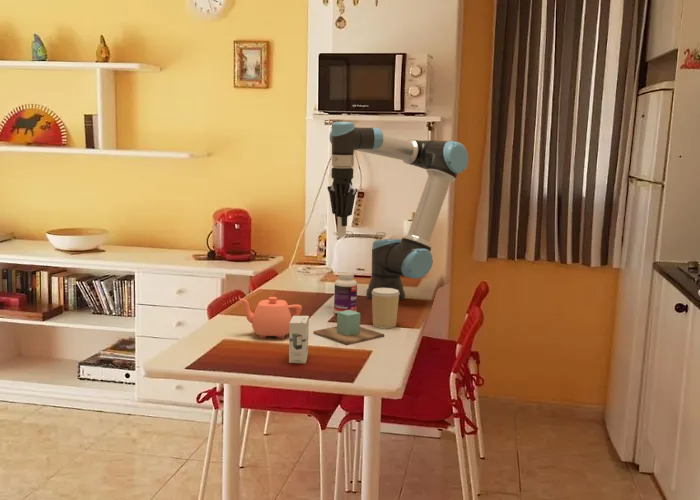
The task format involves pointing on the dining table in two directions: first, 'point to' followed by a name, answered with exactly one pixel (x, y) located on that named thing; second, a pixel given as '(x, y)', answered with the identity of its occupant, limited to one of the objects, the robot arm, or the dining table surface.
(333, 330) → the post stand
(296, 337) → the ink box
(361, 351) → the dining table surface
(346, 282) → the pill bottle
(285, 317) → the teapot
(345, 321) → the teal green block
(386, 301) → the coffee cup
